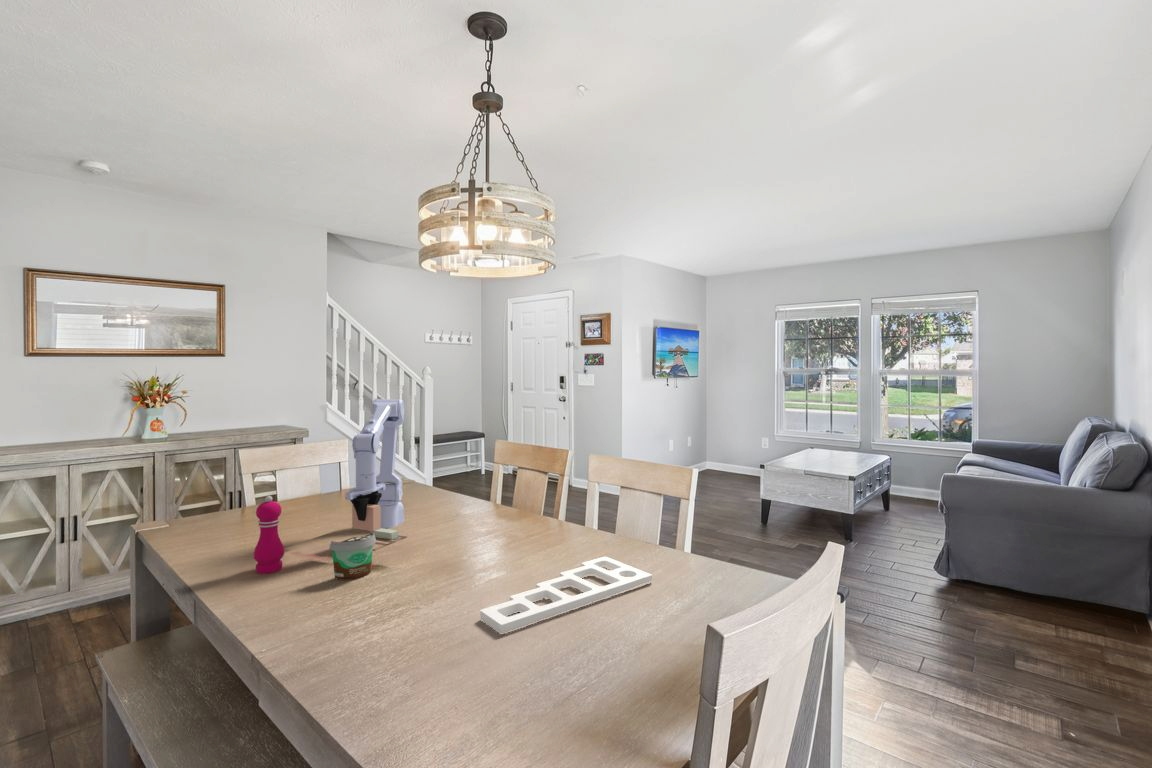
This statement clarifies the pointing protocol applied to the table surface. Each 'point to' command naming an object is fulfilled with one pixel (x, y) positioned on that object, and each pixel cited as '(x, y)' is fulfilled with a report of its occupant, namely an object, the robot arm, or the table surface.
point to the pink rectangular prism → (368, 518)
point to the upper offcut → (386, 533)
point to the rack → (387, 541)
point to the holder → (563, 594)
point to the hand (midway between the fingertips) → (366, 518)
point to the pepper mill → (268, 538)
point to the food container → (353, 557)
